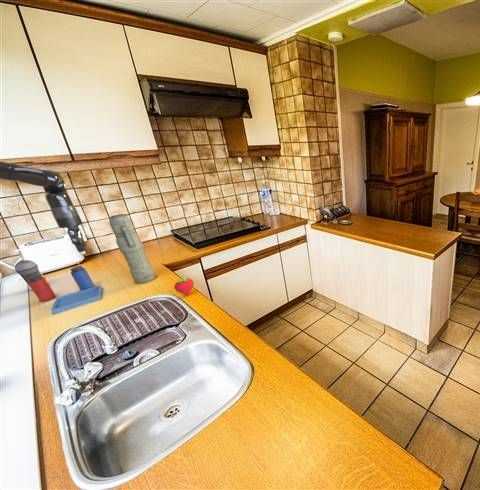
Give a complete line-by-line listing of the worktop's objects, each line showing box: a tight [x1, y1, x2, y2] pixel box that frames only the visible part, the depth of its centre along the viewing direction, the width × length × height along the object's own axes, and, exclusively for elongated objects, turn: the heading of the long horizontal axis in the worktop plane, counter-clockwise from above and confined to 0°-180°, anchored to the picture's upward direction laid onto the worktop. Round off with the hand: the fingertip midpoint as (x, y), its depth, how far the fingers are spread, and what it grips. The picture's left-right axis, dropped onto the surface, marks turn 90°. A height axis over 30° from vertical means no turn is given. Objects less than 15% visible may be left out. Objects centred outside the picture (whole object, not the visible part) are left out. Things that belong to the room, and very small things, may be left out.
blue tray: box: [51, 285, 103, 315], centre depth 123 cm, size 15×13×2 cm
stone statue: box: [108, 213, 157, 285], centre depth 132 cm, size 9×12×35 cm
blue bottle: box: [70, 265, 96, 291], centre depth 131 cm, size 5×5×12 cm
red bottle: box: [27, 274, 57, 303], centre depth 124 cm, size 5×5×12 cm
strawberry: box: [173, 276, 194, 296], centre depth 121 cm, size 6×8×10 cm
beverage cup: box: [14, 251, 42, 287], centre depth 133 cm, size 7×7×20 cm
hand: (82, 249), depth 124 cm, fingers open, 8 cm apart
